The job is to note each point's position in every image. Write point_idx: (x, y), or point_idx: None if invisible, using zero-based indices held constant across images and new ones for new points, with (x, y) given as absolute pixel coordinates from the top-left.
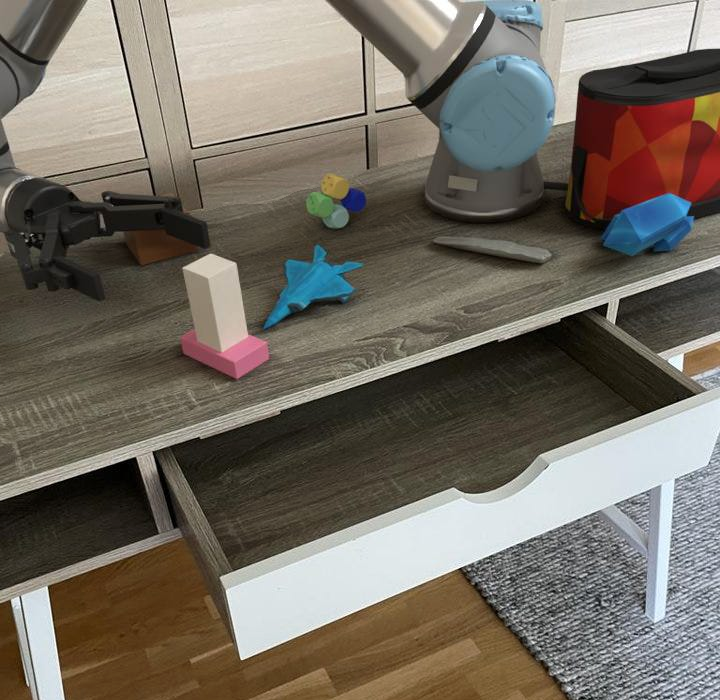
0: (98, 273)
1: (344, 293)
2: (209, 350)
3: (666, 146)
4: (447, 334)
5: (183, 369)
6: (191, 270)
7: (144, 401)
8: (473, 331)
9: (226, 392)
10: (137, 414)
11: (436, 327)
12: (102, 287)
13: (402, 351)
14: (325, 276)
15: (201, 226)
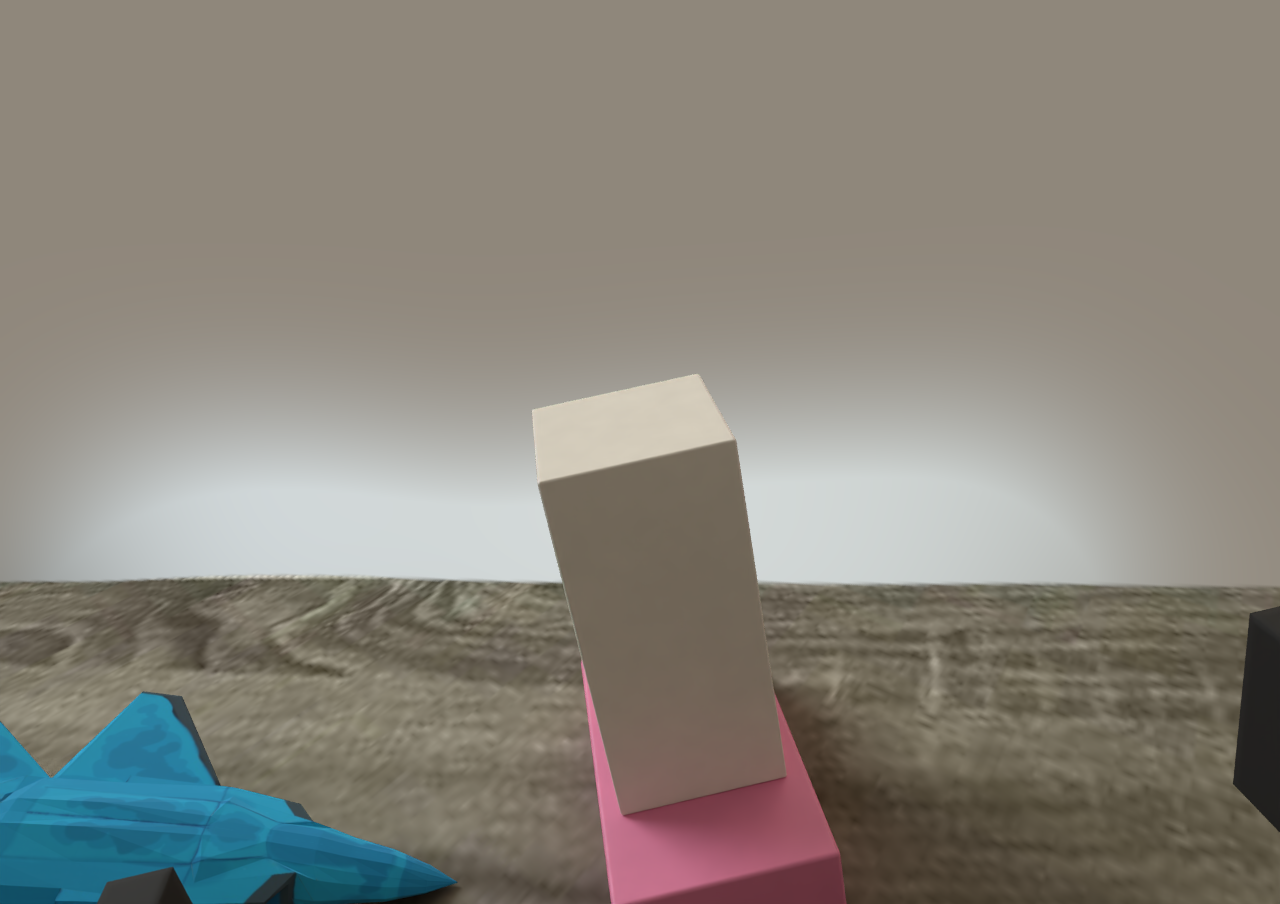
0: (1254, 613)
1: (172, 711)
2: (778, 706)
3: None
4: (201, 601)
5: (899, 823)
6: (716, 414)
7: (1121, 727)
8: (163, 587)
9: (820, 649)
10: (1161, 681)
11: (175, 630)
12: (1243, 713)
13: (331, 596)
14: (90, 780)
15: (176, 881)
